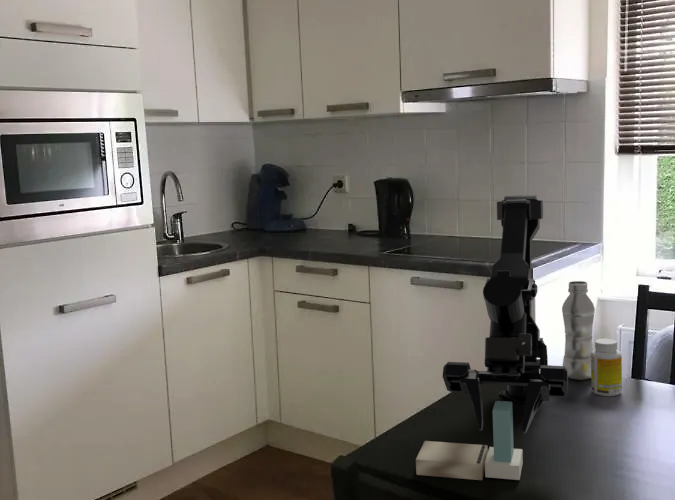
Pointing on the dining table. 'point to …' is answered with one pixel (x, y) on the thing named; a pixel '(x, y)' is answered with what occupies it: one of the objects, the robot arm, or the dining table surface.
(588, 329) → the plastic bottle
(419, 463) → the beige flat block
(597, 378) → the supplement bottle
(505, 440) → the teal pillar on base
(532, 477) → the dining table surface
